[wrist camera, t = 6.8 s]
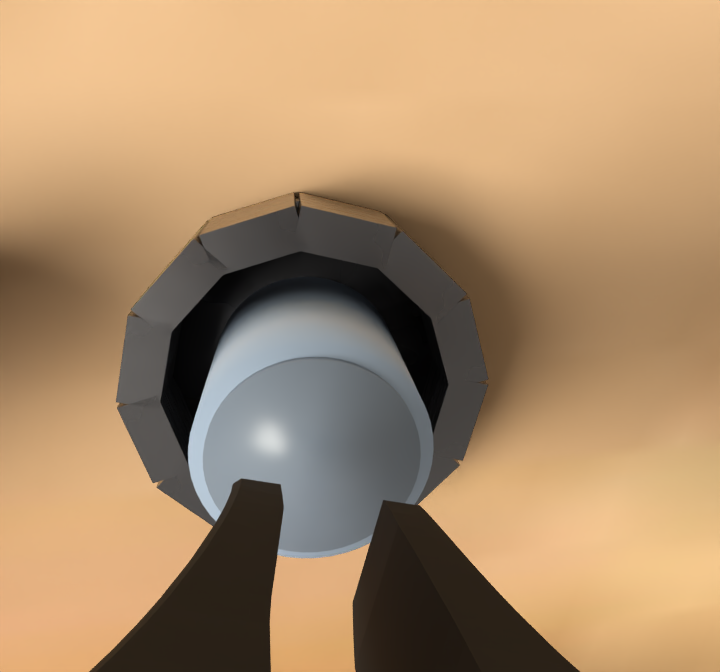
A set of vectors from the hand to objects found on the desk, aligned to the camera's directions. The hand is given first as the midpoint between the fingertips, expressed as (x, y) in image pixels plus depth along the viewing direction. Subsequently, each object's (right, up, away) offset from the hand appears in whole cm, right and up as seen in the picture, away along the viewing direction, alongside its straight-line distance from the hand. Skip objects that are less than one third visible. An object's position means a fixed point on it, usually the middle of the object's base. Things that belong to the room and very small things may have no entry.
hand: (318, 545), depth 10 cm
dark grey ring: (-1, +3, +8) cm, 8 cm away
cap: (-1, +3, +7) cm, 8 cm away
